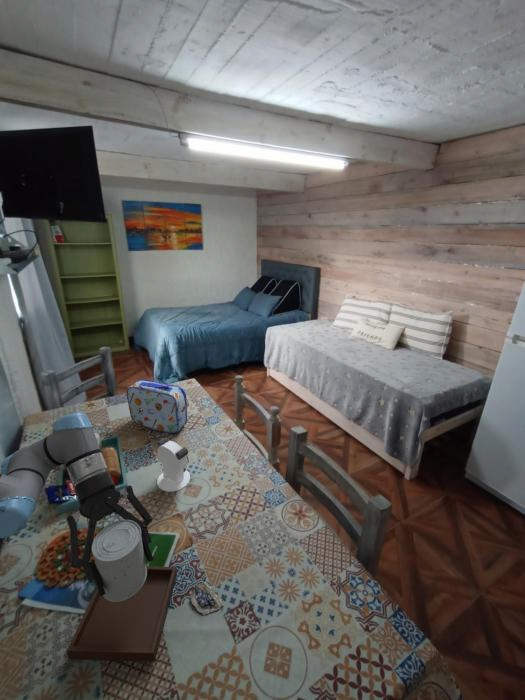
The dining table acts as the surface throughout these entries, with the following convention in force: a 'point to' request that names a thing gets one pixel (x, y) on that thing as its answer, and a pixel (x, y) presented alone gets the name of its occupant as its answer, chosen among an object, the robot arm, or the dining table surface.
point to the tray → (126, 622)
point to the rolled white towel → (120, 559)
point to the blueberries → (205, 598)
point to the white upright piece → (172, 466)
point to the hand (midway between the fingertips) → (127, 576)
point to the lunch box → (158, 405)
